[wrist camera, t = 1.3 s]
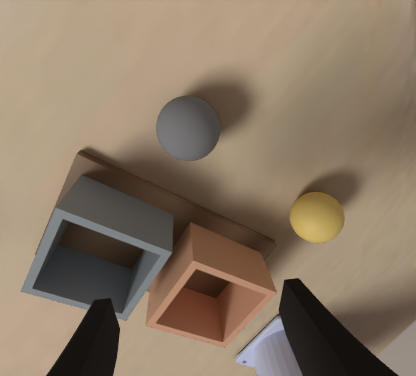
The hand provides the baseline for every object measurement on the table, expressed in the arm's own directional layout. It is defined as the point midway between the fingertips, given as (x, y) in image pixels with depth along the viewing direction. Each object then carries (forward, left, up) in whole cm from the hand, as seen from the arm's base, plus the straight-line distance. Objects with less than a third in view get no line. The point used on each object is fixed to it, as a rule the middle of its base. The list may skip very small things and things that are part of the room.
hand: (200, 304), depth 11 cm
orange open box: (-4, +5, -9) cm, 11 cm away
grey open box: (+4, +5, -9) cm, 11 cm away
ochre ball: (-8, -4, -9) cm, 13 cm away
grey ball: (+3, -5, -9) cm, 11 cm away
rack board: (0, +5, -9) cm, 10 cm away
